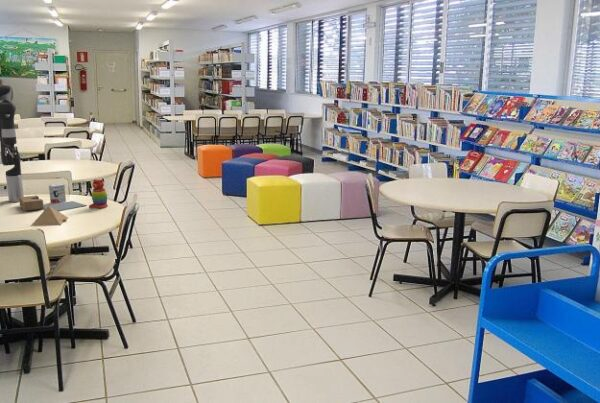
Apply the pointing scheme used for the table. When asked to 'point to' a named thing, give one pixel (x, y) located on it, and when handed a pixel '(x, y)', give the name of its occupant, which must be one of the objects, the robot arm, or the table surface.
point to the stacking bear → (98, 195)
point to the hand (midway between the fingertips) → (11, 162)
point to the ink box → (57, 193)
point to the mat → (65, 206)
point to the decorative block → (31, 203)
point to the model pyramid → (50, 218)
